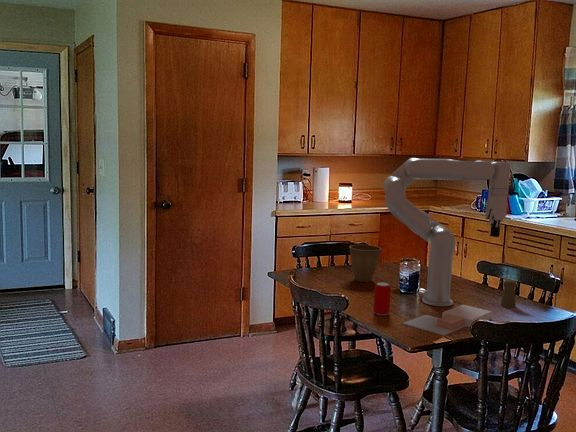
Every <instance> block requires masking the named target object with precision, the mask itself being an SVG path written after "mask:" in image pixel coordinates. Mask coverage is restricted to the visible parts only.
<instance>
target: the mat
mask: <svg viewBox="0 0 576 432" xmlns="http://www.w3.org/2000/svg"><path fill="white" fill-rule="evenodd" d="M440 318H441V317H436V316H432V315H428V314H424V315H421V316H418V317H416V318H415V317H414V318H413V319H410V320H407V321H405V322H403V323H402V324H403V325H405V326H408V327H411V328H416V329H419V330H422V331H425V332H429V333H432V334H436V335H440V336H443V337H445V336H447V335H449V334H451V333H454V332H456V331H459V330H461V329H463V328H465V327H466V325H462V326H460V327H458V328H455V329H453V330H449V329H446V328H442V327H438V326H437V319H440Z"/></svg>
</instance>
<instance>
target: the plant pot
mask: <svg viewBox="0 0 576 432" xmlns="http://www.w3.org/2000/svg"><path fill="white" fill-rule="evenodd" d="M381 252H382V248H381V247H380V246H376V245H370V244H352V245H349V256H350V264H351V270H352V274H353V276H354V277H353V278H354V279H355V281H357V282H360V283H370V282H371V281H372V279H373V277H374V274H375V272H376V270H377V266H378V264H379V261H380V258H381V257H380V256H381Z"/></svg>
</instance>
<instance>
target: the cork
mask: <svg viewBox="0 0 576 432" xmlns="http://www.w3.org/2000/svg"><path fill="white" fill-rule="evenodd" d="M502 286H503V292H502V297H501V300H500V305H499V306H500V307H501V308H507V309H515V308H516V306H517V305H516V288H517V282H516V281H515V280H512V279H506V280H504V281H503V283H502Z"/></svg>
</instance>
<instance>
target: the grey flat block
mask: <svg viewBox="0 0 576 432" xmlns="http://www.w3.org/2000/svg"><path fill="white" fill-rule="evenodd" d="M441 314H442V315H441V318H442V317H445V316H447V315H453V316H457V317H461V318H464V325H466V327H467V328H470V325H471V323H472V322H473V321H475V320H477V319H487V320H488V321H489V320H492V311H491V310H487V309H486V310H485V309H483V308H479V307H474V306H471V305H467V304H460V305H459V306H456V307H453V308H449V309H448V310H444V311H442V312H441Z"/></svg>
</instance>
